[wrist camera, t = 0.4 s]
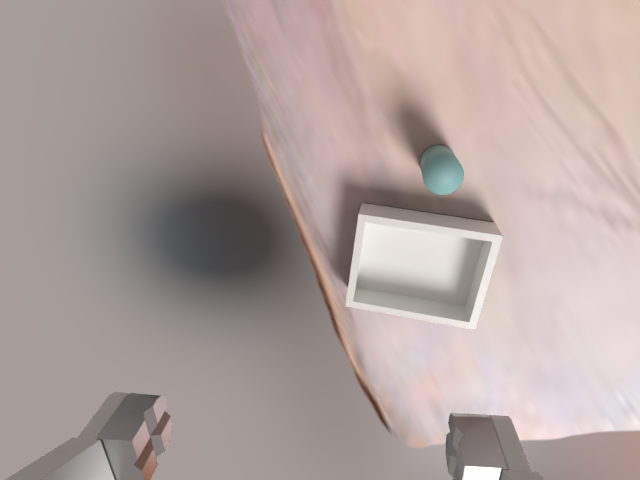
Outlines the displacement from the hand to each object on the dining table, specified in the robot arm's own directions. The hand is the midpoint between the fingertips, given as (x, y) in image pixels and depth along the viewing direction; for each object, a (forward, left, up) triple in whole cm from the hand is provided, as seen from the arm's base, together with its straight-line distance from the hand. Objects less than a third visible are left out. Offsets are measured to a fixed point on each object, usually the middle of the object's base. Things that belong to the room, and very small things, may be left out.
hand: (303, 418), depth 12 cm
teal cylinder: (+1, +8, -47) cm, 48 cm away
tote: (+15, +8, -47) cm, 50 cm away
